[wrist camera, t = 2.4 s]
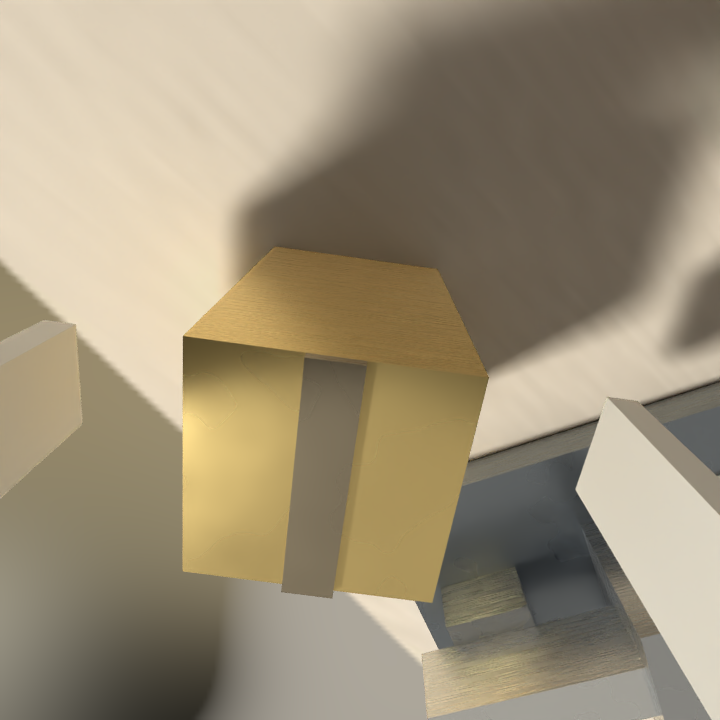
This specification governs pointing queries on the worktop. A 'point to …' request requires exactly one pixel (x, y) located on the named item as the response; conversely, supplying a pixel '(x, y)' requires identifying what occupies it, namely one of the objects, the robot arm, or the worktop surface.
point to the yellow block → (328, 426)
